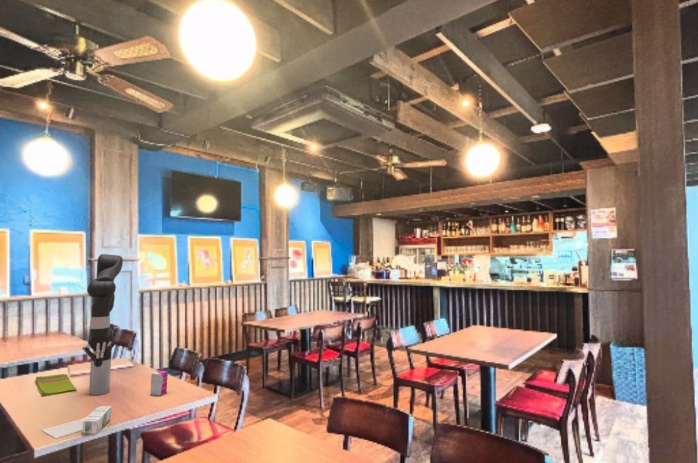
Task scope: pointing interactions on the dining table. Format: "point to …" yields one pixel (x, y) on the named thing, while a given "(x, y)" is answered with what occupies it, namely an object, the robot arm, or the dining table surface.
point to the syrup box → (96, 420)
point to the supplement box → (158, 383)
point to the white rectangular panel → (65, 429)
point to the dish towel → (54, 385)
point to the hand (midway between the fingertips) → (97, 366)
